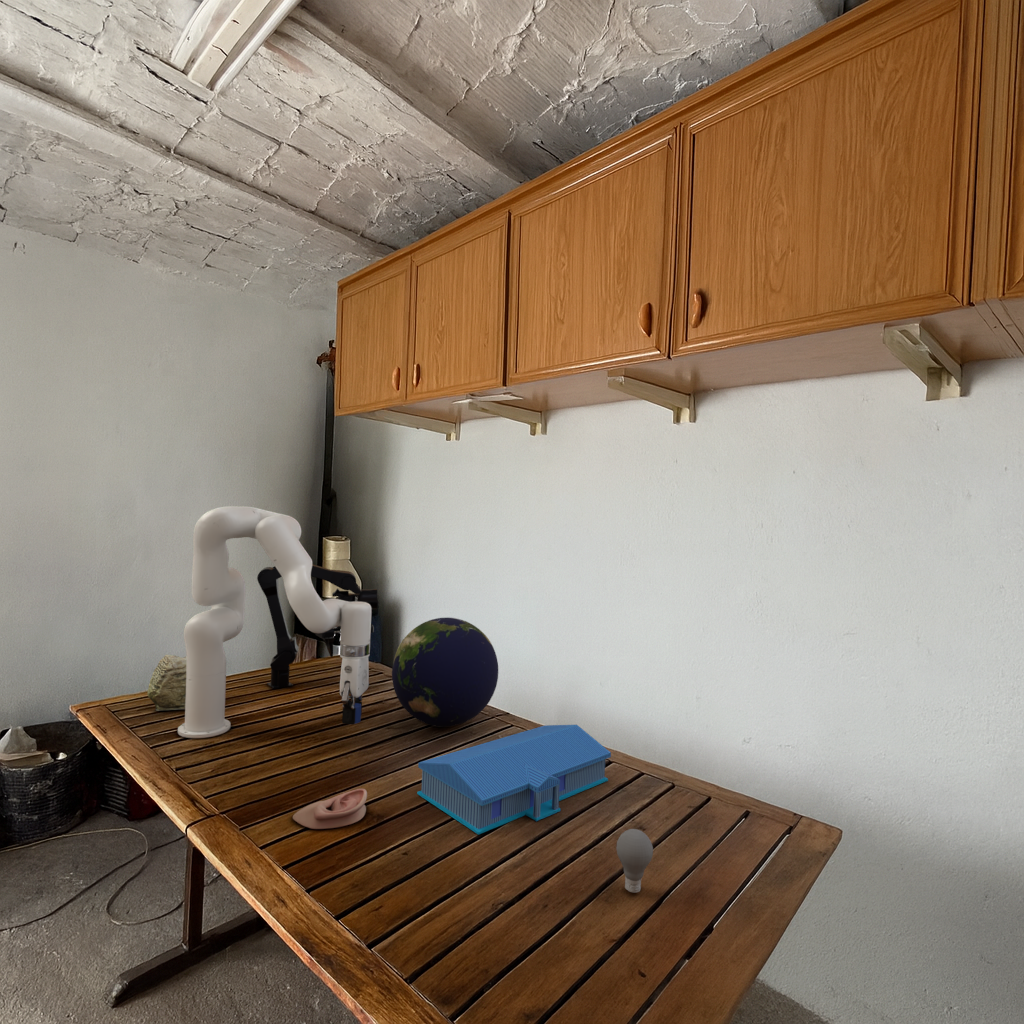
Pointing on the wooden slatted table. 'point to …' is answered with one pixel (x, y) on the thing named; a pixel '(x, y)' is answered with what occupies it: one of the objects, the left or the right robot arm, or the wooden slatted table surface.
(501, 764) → the model building
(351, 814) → the anatomical model
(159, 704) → the fossil
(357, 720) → the canister
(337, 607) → the left robot arm
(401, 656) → the globe
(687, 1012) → the wooden slatted table surface
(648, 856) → the light bulb
